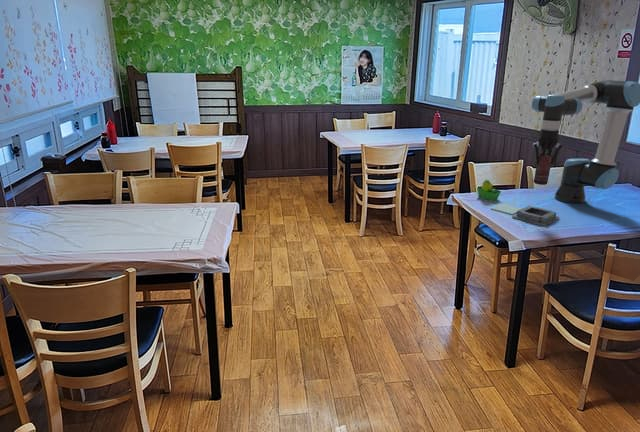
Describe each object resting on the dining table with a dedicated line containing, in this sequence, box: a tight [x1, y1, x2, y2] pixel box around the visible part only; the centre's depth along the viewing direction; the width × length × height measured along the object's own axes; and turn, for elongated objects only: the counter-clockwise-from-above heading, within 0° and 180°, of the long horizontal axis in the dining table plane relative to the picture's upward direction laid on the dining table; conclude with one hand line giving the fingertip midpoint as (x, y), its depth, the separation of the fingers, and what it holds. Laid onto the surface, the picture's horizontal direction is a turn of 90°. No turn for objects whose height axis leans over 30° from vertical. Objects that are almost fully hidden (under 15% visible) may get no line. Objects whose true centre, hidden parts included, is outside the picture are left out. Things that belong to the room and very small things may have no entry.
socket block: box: [511, 205, 560, 227], centre depth 224 cm, size 16×16×4 cm
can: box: [533, 153, 553, 186], centre depth 217 cm, size 6×6×14 cm
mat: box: [490, 203, 522, 216], centre depth 237 cm, size 12×12×1 cm
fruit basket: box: [476, 179, 502, 202], centre depth 254 cm, size 11×9×11 cm
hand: (541, 178), depth 219 cm, fingers closed
